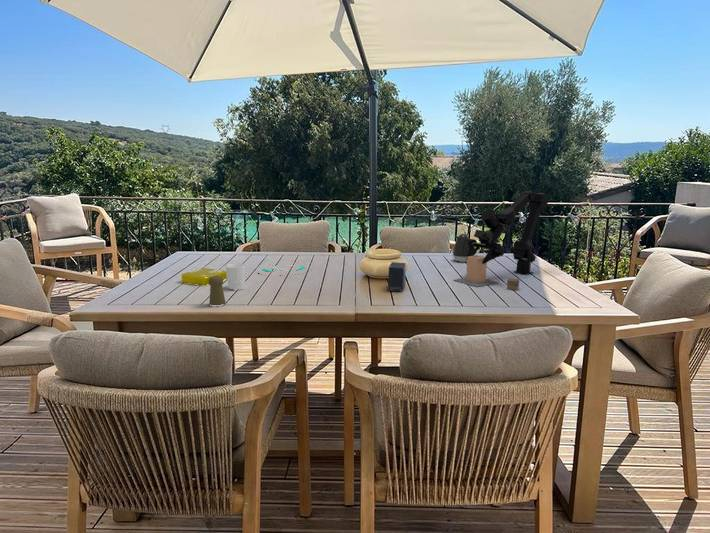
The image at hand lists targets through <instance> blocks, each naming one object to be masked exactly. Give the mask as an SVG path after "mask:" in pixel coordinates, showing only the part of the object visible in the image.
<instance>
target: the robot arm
mask: <svg viewBox="0 0 710 533" xmlns="http://www.w3.org/2000/svg"><path fill="white" fill-rule="evenodd" d="M549 200H550V199H549V196H548V194H547V193H540V192H534V191H523V192H522V193H521V195H520V196H519V197H518V198H517V199H516V200H514V202H512V204H510V206H508V207H507V208H504V209H501V210H500V211H499V212H497V213H496V211H495V210H494V209H493V208H489V209H488V210H486V211H484V212H483V213H482V214H480V220H481V221H482V222H483V224H484V225H485V227H486V228H488V229H487V230H483V229H481V230H480V229H475V231H474V235H473V237H474V238H476V239H478V240H476V239H474V238H469V239H468V240H467V241H466V244H467V246H468V247H469V249H468V254H467V257H468V256H475V255H477V253H478V251H479V250H480V249H483V250H488V252H487V253H486V255H485V256H484V257H485V258H484V259H483V261H482V263H483V264H485V263H487V264H488V263H489V262H490V261H492V260H494V259H497V258H499V257H503V256H504V254H505V253H506V252H505V251H506V250H505V249H504V247H503V245H502V244H501V243H499V242H500V241H499V240H500V237H501V236H502V235H504V234H505V235H506V234H508V233H507V232H508V231H507V228H506V227H504V226H512V224H514V222H515V220H516V217H517V215H518V214H519V213H520V212H521V211H522V210H523V209H524V208H525V207H526V206H527V205H528V207H529V211H528V213H527V214H528V215H527V217H526V221H525V224H524V227H523V230H522V233H521V236H520V239H519V240H515V242H514V245H513V247H512V255H513V259H514V260H516V270H514V271H513V273H515V274H516V273H517V274H522V275H528V274H529V275H530V274H533V273H534V271H531V268H532V267H531V265H532V263H534V262H535V261H536V255H535V253H534V252H533V249H534V247H533V242H532V240H533V237H534V234H535V231H536V227H537V224H538V221H539V220H540V215H541V214H542V212H543V211H544V210H545V209H546V208H547V205H549ZM466 259H467V258H466Z"/></svg>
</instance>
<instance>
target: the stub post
mask: <svg viewBox="0 0 710 533" xmlns="http://www.w3.org/2000/svg"><path fill="white" fill-rule="evenodd" d="M519 287H520V278H511V277H508V279H507V282H506V290H508V289H510V290H511V291H518V290H519V289H520V288H519ZM518 288H519V289H518Z"/></svg>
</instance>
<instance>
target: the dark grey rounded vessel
mask: <svg viewBox="0 0 710 533" xmlns="http://www.w3.org/2000/svg"><path fill="white" fill-rule="evenodd" d="M454 238H455V239H456V240H455V243H454V245H453V250H452V256H453V259H454V260H455V261H456V262H457V261H459V262H458V263H467V259H466V258H467V254H468V249H469V247H468V246H467V244H466V241H467V240H468V239H470V238H469V236H468V234H466V233H460V234H459V235H455V236H454Z"/></svg>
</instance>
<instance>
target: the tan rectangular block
mask: <svg viewBox="0 0 710 533" xmlns="http://www.w3.org/2000/svg"><path fill="white" fill-rule="evenodd" d="M484 258H485V256H482V255H477V254H475V255H474V256H468V257H467V262H466V276H465V278H466V281H470V282H473V283H480V282H485V281H486V279H487V268H488V267H487V264H488V262H487V263H485V264H483V263H482V261H483V259H484Z"/></svg>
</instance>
